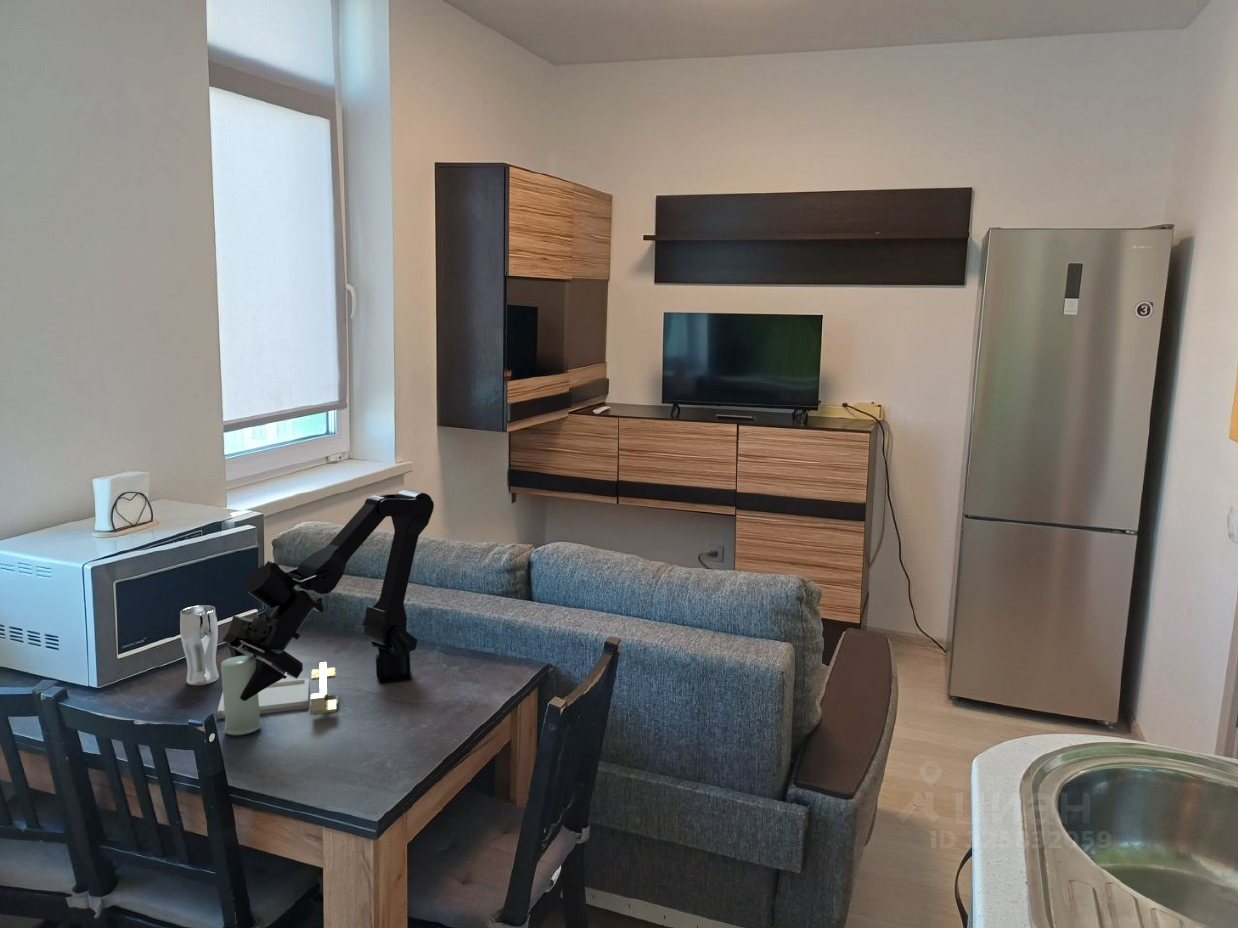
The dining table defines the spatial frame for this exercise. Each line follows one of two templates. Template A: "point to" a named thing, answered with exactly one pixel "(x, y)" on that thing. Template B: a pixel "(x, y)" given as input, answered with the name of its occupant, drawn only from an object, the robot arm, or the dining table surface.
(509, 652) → the dining table surface
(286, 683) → the dish
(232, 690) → the cup
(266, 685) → the robot arm
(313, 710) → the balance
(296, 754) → the dining table surface
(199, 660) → the beer glass
